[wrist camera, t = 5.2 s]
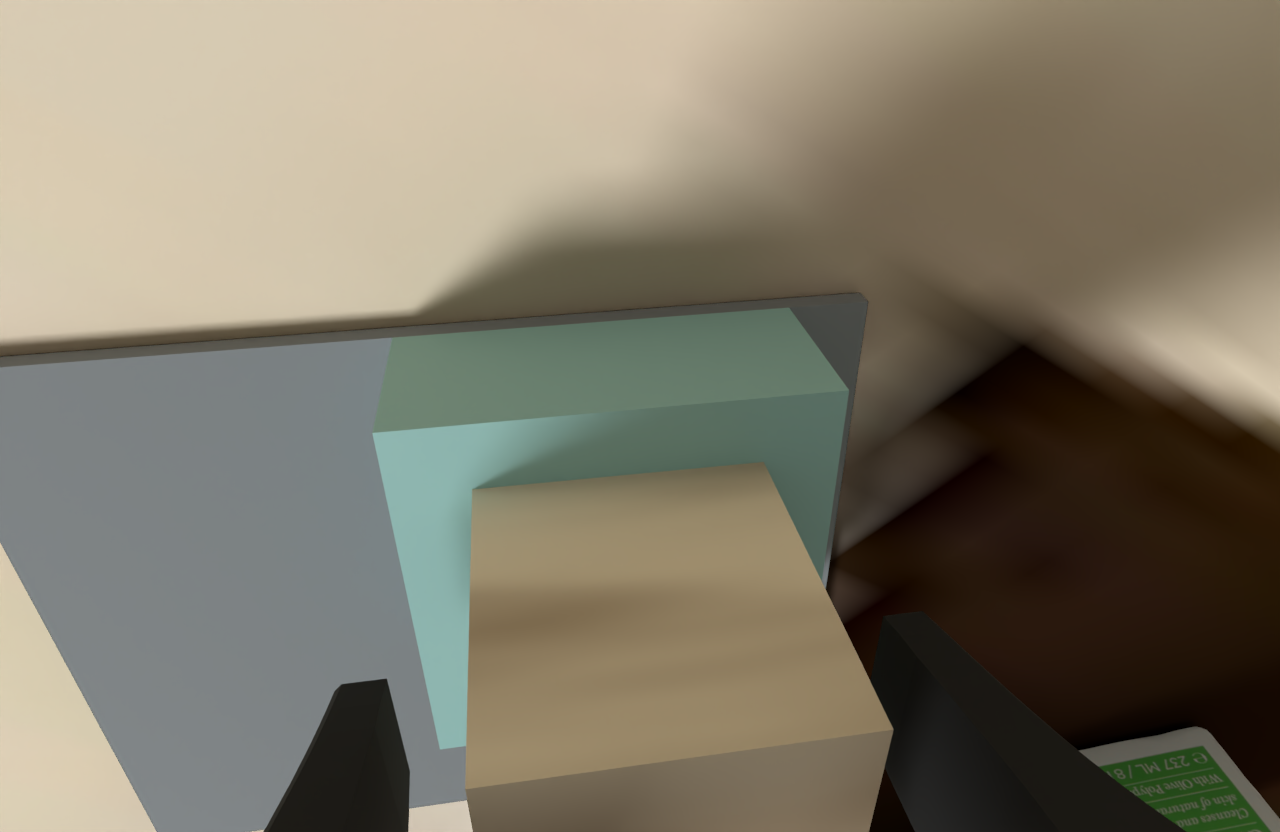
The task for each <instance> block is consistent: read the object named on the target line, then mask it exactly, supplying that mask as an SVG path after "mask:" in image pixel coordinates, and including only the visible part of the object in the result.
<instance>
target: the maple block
mask: <svg viewBox="0 0 1280 832" xmlns="http://www.w3.org/2000/svg"><path fill="white" fill-rule="evenodd" d="M893 730H894V729H893V727H892V725H891V723H890V721H889V719H888V717H887V715H886V713H885V711H884V709H883V707H882V705H881V703H880V701H879V698H878V696H877V694H876V692H875V690H874V688H873V686H872V684H871V682H870V680H869V678H868V676H867V674H866V672H865V670H864V668H863V666H862V663H861V661H860V659H859V657H858V655H857V653H856V651H855V649H854V647H853V645H852V643H851V641H850V639H849V637H848V635H847V633H846V631H845V628H844V626H843V624H842V622H841V620H840V618H839V616H838V614H837V612H836V610H835V608H834V606H833V604H832V602H831V600H830V598H829V595H828V593H827V591H826V589H825V587H824V585H823V583H822V581H821V579H820V577H819V575H818V573H817V571H816V569H815V567H814V565H813V563H812V560H811V558H810V556H809V554H808V552H807V550H806V548H805V546H804V544H803V542H802V540H801V538H800V536H799V534H798V532H797V530H796V528H795V525H794V523H793V521H792V519H791V517H790V515H789V513H788V511H787V509H786V507H785V505H784V503H783V501H782V499H781V497H780V495H779V493H778V490H777V488H776V486H775V484H774V482H773V480H772V478H771V476H770V474H769V472H768V470H767V468H766V466H765V464H764V462H758V463H748V464H737V465H726V466H716V467H705V468H695V469H684V470H673V471H663V472H652V473H642V474H631V475H620V476H610V477H599V478H588V479H578V480H567V481H557V482H546V483H535V484H525V485H514V486H503V487H493V488H482V489H472V517H471V560H470V603H469V646H468V690H467V733H466V776H465V791H466V796H467V802H468V807H469V812H470V818H471V823H472V829H473V832H869V829H870V825H871V821H872V817H873V812H874V808H875V804H876V800H877V796H878V792H879V788H880V784H881V780H882V775H883V771H884V767H885V763H886V759H887V755H888V751H889V747H890V742H891V738H892V734H893Z"/></svg>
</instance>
